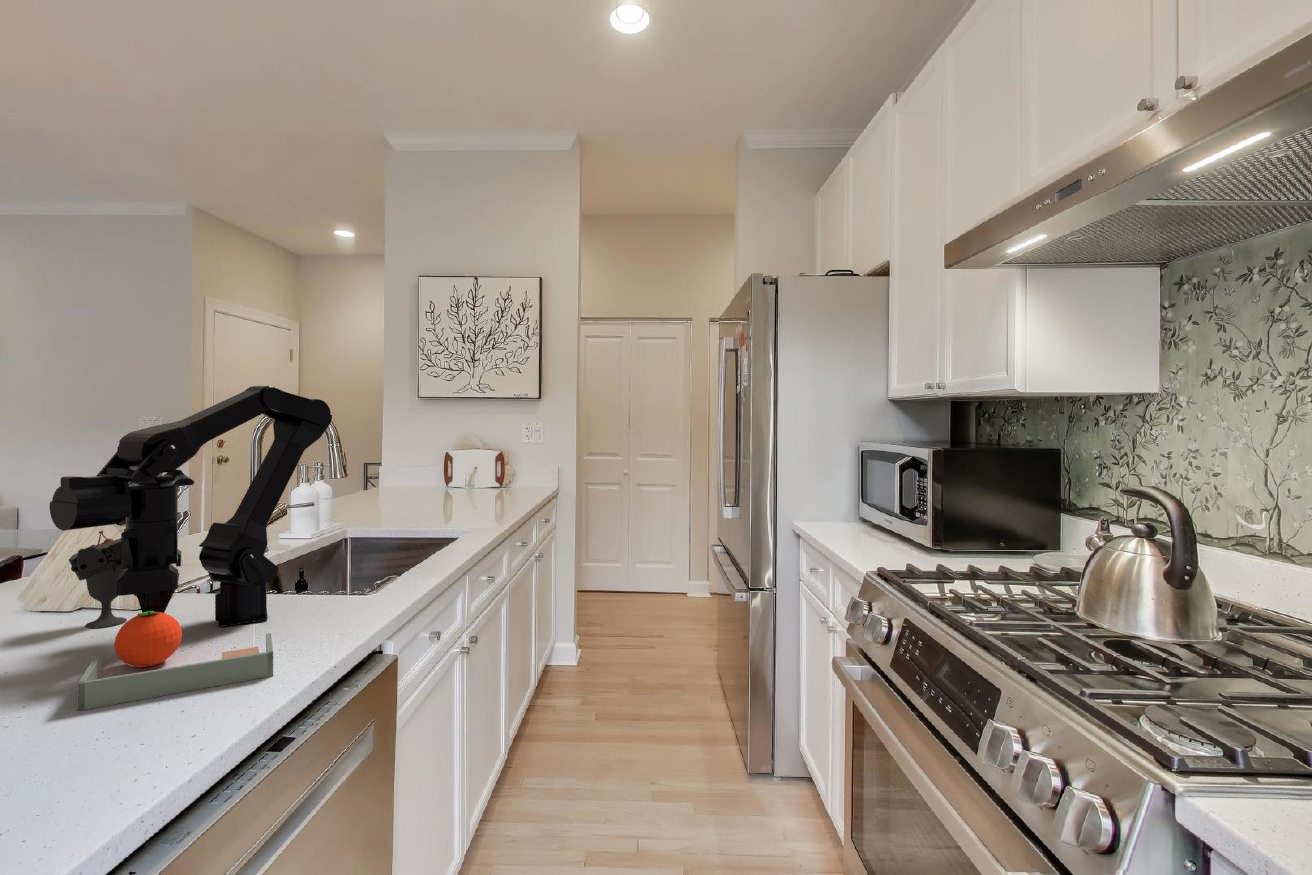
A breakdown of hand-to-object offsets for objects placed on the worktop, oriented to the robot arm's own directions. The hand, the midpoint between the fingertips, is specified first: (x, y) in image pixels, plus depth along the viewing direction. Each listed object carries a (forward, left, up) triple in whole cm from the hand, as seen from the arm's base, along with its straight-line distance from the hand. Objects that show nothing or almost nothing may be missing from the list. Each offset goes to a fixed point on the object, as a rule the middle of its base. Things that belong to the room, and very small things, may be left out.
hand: (152, 628), depth 88 cm
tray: (-5, +16, -2) cm, 17 cm away
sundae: (+7, -16, -3) cm, 18 cm away
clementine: (0, +8, -3) cm, 8 cm away
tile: (-11, +17, -3) cm, 20 cm away
